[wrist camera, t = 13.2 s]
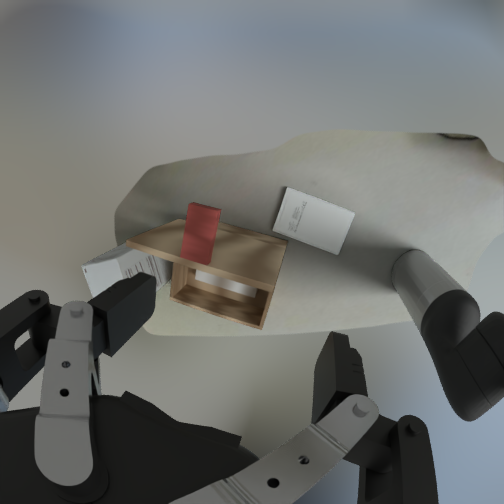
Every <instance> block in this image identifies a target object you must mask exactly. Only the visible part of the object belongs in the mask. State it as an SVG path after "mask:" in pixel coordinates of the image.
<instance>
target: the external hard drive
mask: <svg viewBox="0 0 504 504" xmlns="http://www.w3.org/2000/svg"><path fill="white" fill-rule="evenodd" d="M354 215H355V212H353V211H351V210H348V209H346V208H343V207H341V206H338V205H336V204H333V203H330V202H328V201H325V200H323V199H320V198H317V197H315V196H312V195H309V194H307V193H304V192H301V191H298V190H295V189H293V188H290V187H287V189H286V192H285V195H284V198H283V201H282V204H281V207H280V210H279V213H278V216H277V219H276V222H275V224H274V227H273V230H272V231H274V232H277V233H280V234H282V235H285V236H288V237H290V238H293V239H296V240H298V241H301V242H304V243H306V244H309V245H312V246H314V247H317V248H320V249H322V250H325V251H328V252H330V253H333V254H336V255H338V254H339V252H340V250H341V247H342V245H343V243H344V240H345V238H346V235H347V233H348V230H349V228H350V226H351V223H352V221H353V218H354Z"/></svg>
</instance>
